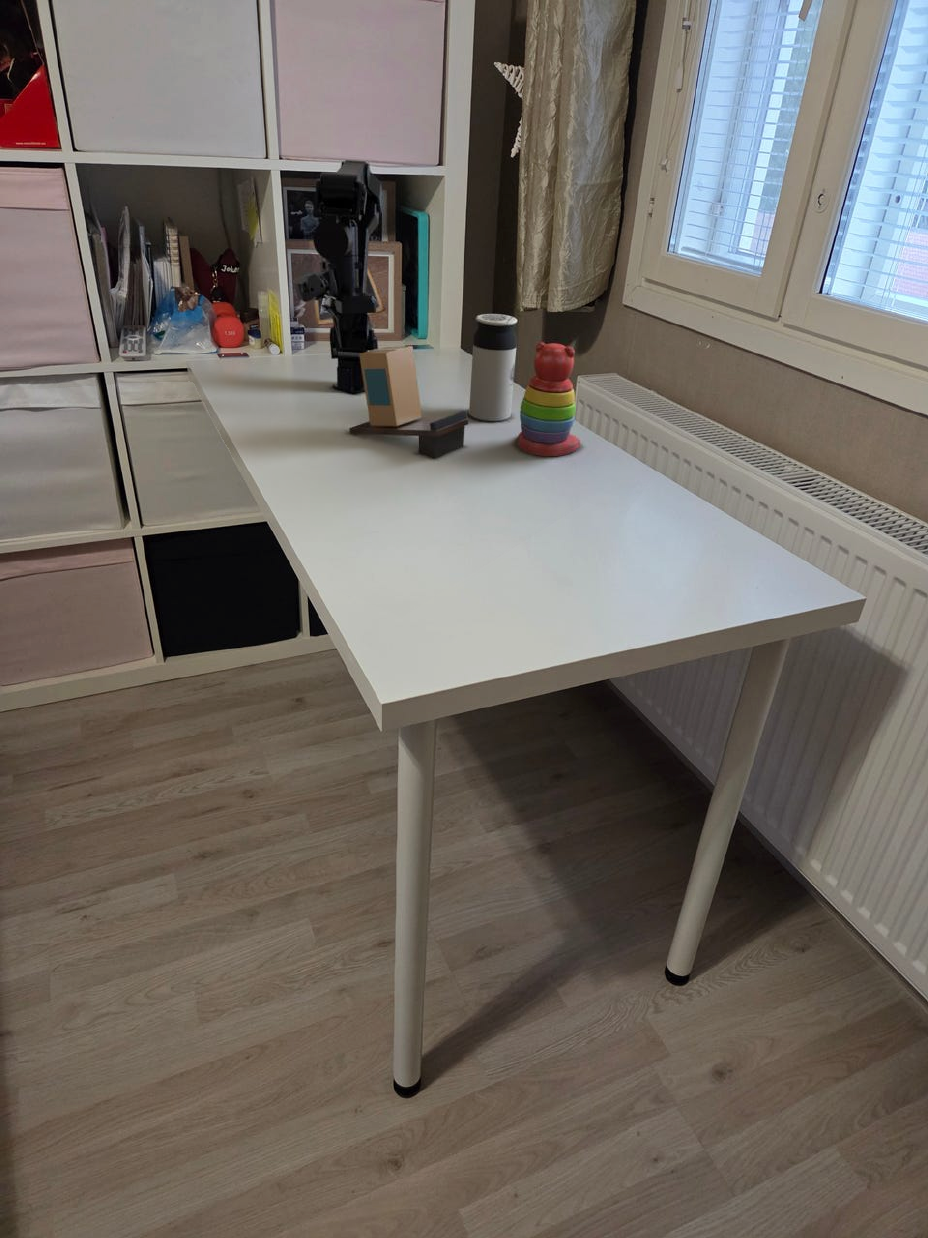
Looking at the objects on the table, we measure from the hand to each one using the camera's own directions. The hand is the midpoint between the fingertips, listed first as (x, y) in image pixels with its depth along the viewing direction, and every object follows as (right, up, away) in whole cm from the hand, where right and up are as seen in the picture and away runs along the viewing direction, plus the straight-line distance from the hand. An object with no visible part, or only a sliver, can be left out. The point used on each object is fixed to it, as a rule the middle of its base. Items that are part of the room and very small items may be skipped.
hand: (343, 347), depth 154 cm
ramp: (+12, -18, -6) cm, 23 cm away
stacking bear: (+36, -19, -5) cm, 41 cm away
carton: (+9, -15, -6) cm, 18 cm away
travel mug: (+27, -11, +8) cm, 30 cm away
